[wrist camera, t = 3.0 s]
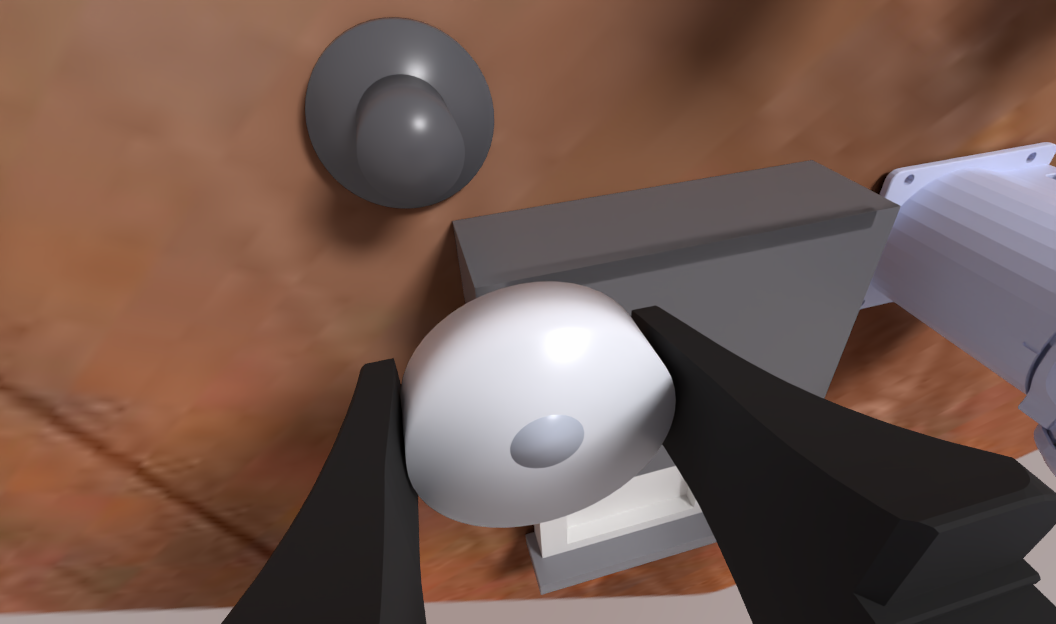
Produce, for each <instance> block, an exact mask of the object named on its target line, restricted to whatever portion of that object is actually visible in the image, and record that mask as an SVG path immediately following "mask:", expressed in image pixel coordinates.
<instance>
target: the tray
mask: <svg viewBox="0 0 1056 624" xmlns="http://www.w3.org/2000/svg"><path fill="white" fill-rule="evenodd" d="M534 530H535V532H533V533H529V534H526V543H527V547H528V550H529V554H530V557H531V561H532V565H533V568H534V572H535V575H536V579H537V582H538V586H539V589H540V593H541V595H542V594H546V593H549V592H552V591H556V590H559V589H562V588H566V587H569V586H572V585H575V584H579V583H582V582H585V581H589V580H592V579H595V578H599V577H602V576H605V575H609V574H612V573H615V572H619V571H622V570H625V569H629V568H632V567H635V566H639V565H642V564H645V563H649V562H652V561H655V560H659V559H662V558H665V557H668V556H672V555H675V554H678V553H682V552H685V551H688V550H692V549H695V548H698V547H702V546H705V545H708V544H712V543H715V542H717V541H716V539H715V537H714V535H713V533H712V531H711V529H710V527H709V525H708V523H707V521H706V519H705V516H704V514H703V512H702V510H701V508H700V506H699V504H698V503H697V501H696V499H695V497H694V495H693V494H692V492H691V490H690V488H689V487H688V485H687V483H686V482H685V480H684V479H683V477H682V475H681V474H680V472H679V470H678V469H677V467H676V466H673V467H669V468H666V469H662V470H658V471H654V472H651V473H647V474H643V475H640V476H636V477H633V478H632V479H631V480H630V481H628V482H627V483H626V484H625V485H623V486H622V487H621V488H619V489H618V490H616V491H615V492H613V493H612V494H610V495H609V496H607V497H606V498H604V499H602V500H600V501H599V502H597V503H595V504H593V505H591V506H589V507H587V508H584V509H582V510H580V511H578V512H575V513H573V514H570V515H567V516H565V517H561V518H558V519H555V520H552V521H547V522H543V523H539V524H534Z"/></svg>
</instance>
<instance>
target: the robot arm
mask: <svg viewBox="0 0 1056 624" xmlns="http://www.w3.org/2000/svg"><path fill="white" fill-rule="evenodd" d="M1055 152H1056V145H1055V144H1052V143H1049V142H1044V143H1038V144H1032V145H1027V146H1021V147H1016V148H1010V149H1004V150H999V151H993V152H987V153H982V154H976V155H971V156H965V157H959V158H954V159H948V160H943V161H937V162H931V163H926V164H920V165H914V166H909V167H903V168H898V169H895V170H893V171H892V172H890V173H889V174H888V175H887V177H886V179H885V181H884V184H883V186H882V189H881V192H880V195H881V196H882V197H884V198H886V199H888V200H890V201H892V202H894V203H896V204H898V205H900V206H901V207H900V210H899V212H898V215H897V217H896V220H895V222H894V225H893V227H892V230H891V232H890V235H889V237H888V240H887V242H886V245H885V247H884V250H883V252H882V255H881V257H880V260H879V262H878V265H877V267H876V270H875V272H874V275H873V277H872V280H871V282H870V285H869V287H868V290H867V292H866V295H865V297H864V300H863V302H862V305H861V307H860V309H863V308H868V307H872V306H877V305H881V304H885V303H890V302H895V303H896V304H897V305H899V306H900V307H902V308H903V309H905V310H906V311H907V312H909V313H910V314H912V315H913V316H915V317H916V318H917V319H919V320H920V321H922V322H923V323H925V324H926V325H927V326H929V327H930V328H932V329H933V330H935V331H936V332H937V333H939V334H940V335H942V336H943V337H945V338H946V339H947V340H949V341H950V342H952V343H953V344H955V345H956V346H957V347H959V348H960V349H962V350H963V351H965V352H966V353H967V354H969V355H970V356H972V357H973V358H975V359H976V360H977V361H979V362H980V363H982V364H983V365H985V366H986V367H987V368H989V369H990V370H992V371H993V372H995V373H996V374H997V375H999V376H1000V377H1002V378H1003V379H1005V380H1006V381H1007V382H1009V383H1010V384H1012V385H1013V386H1014V387H1016V388H1017V389H1019V390H1020V391H1022V392H1023V393H1024V394H1026V395H1027V396H1026V397H1025V398H1024V400H1023V401H1022V402H1021V403H1020V405H1019V406H1018V409H1020V410H1021V411H1022V412H1024V413H1025V414H1026V415H1028V416H1029V417H1031V418H1032V419H1033V420H1035V421H1036V422H1037V423H1039V424H1038V425H1037V427H1036V429H1035V431H1034V440H1035V443H1036V445H1037V448H1038V449H1039V451H1040V453H1041V454H1042V456H1043V459H1044V461H1045V463H1046V464H1047V466H1048V467H1049V469H1050V470H1051V471H1052V473H1053V474H1054V475H1055V476H1056V167H1054V166H1051V165H1049V164H1050V162H1051V160H1052V158H1053V156H1054V154H1055ZM631 318H632V319H633V321H634V322H635V324H636V325H637V326H638V328H639V329H640V331H641V332H642V334H643V335H644V336H645V338H646V339H647V341H648V342H649V344H650V345H651V346H652V348H653V349H654V351H655V352H656V354H657V355H658V356H659V358H660V359H661V361H662V362H663V364H664V365H665V366H666V368H667V370H668V372H669V374H670V376H671V378H672V381H673V384H674V388H675V396H676V404H675V413H674V417H673V421H672V424H671V427H670V429H669V432H668V434H667V436H666V438H665V440H664V442H663V443H662V445H663V446H664V448H665V449H666V451H667V453H668V454H669V456H670V458H671V459H672V461H673V462H674V464H675V466H676V467H677V469H678V470H679V472H680V474H681V475H682V477H683V479H684V480H685V482H686V483H687V485H688V487H689V488H690V490H691V492H692V494H693V495H694V497H695V499H696V501H697V503H698V504H699V506H700V508H701V510H702V512H703V514H704V516H705V519H706V521H707V523H708V525H709V527H710V529H711V531H712V533H713V535H714V537H715V539H716V541H717V543H718V546H719V548H720V550H721V552H722V554H723V556H724V559H725V561H726V563H727V565H728V567H729V570H730V572H731V574H732V576H733V578H734V581H735V583H736V585H737V587H738V590H739V592H740V594H741V597H742V599H743V601H744V604H745V606H746V609H747V611H748V613H749V616H750V618H751V620H752V623H753V624H1056V607H1055V605H1054V604H1053V603H1051V602H1050V601H1049V600H1048V599H1047V598H1046V597H1045V596H1044V595H1043V594H1042V593H1041V592H1040V591H1039V590H1038V589H1037V588H1036V587H1035V586H1034V585H1033V584H1036V583H1037V582H1038V581H1039V580H1040V576H1039V574H1038V572H1037V571H1035V570H1034V569H1033V568H1032V567H1031V566H1030V565H1029V564H1028V563H1027V562H1026V561H1025V560H1024V559H1023V558H1024V557H1025V556H1026V555H1027V554H1028V553H1029V552H1030V551H1031V549H1033V548H1034V546H1035V545H1036V544H1037V543H1038V542H1039V541H1040V540H1041V539H1042V538H1043V537H1044V536H1045V535H1046V534H1047V533H1048V532H1049V531H1050V530H1051V529H1052V528H1053V526H1054V525H1055V524H1056V493H1055V492H1054V491H1053V490H1052V489H1050V488H1049V487H1048V486H1047V485H1046V484H1044V483H1043V482H1042V481H1041V480H1039V479H1038V478H1037V477H1036V476H1035V475H1033V474H1032V473H1031V472H1029V471H1028V470H1027V469H1026V468H1025V467H1023V466H1022V465H1021V464H1020V463H1018V461H1016V460H1015V459H1014V458H1012V457H1008V456H1004V455H1000V454H996V453H992V452H988V451H984V450H980V449H976V448H972V447H968V446H964V445H960V444H956V443H952V442H948V441H944V440H941V439H937V438H934V437H931V436H928V435H924V434H921V433H918V432H914V431H911V430H908V429H905V428H901V427H898V426H895V425H892V424H889V423H886V422H884V421H881V420H878V419H875V418H872V417H869V416H867V415H864V414H861V413H859V412H856V411H853V410H851V409H848V408H846V407H843V406H840V405H838V404H835V403H833V402H831V401H828V400H826V399H823V398H821V397H819V396H817V395H814V394H812V393H810V392H808V391H806V390H803V389H801V388H799V387H797V386H795V385H792V384H790V383H788V382H786V381H784V380H782V379H780V378H778V377H776V376H774V375H772V374H770V373H769V372H767V371H765V370H763V369H761V368H759V367H757V366H756V365H754V364H752V363H750V362H748V361H746V360H745V359H743V358H741V357H739V356H738V355H736V354H734V353H733V352H731V351H729V350H727V349H726V348H724V347H722V346H721V345H719V344H717V343H716V342H714V341H713V340H711V339H709V338H708V337H706V336H705V335H703V334H701V333H700V332H698V331H697V330H695V329H693V328H692V327H690V326H689V325H687V324H686V323H684V322H682V321H681V320H679V319H678V318H676V317H674V316H673V315H671V314H670V313H668V312H666V311H665V310H663V309H661V308H660V307H658V306H656V305H655V306H650V307H645V308H640V309H635V310H632V312H631ZM400 393H401V384H400V380H399V376H398V372H397V369H396V365H395V361H394V358H392V359H387V360H382V361H378V362H373V363H368V364H365V365H364V366H363V367H362V368H361V370H360V374H359V378H358V382H357V385H356V388H355V391H354V394H353V397H352V400H351V403H350V406H349V408H348V411H347V414H346V416H345V419H344V421H343V424H342V426H341V428H340V431H339V433H338V436H337V438H336V441H335V443H334V445H333V447H332V450H331V452H330V454H329V456H328V458H327V460H326V462H325V464H324V466H323V468H322V470H321V472H320V474H319V476H318V478H317V480H316V482H315V484H314V486H313V488H312V490H311V492H310V493H309V495H308V497H307V499H306V501H305V502H304V504H303V506H302V508H301V509H300V511H299V513H298V514H297V516H296V518H295V519H294V521H293V523H292V524H291V526H290V528H289V529H288V531H287V532H286V534H285V535H284V537H283V539H282V540H281V542H280V543H279V545H278V546H277V548H276V549H275V551H274V552H273V554H272V555H271V557H270V558H269V560H268V561H267V563H266V564H265V566H264V567H263V569H262V570H261V571H260V573H259V574H258V576H257V577H256V579H255V580H254V581H253V583H252V584H251V585H250V587H249V588H248V589H247V591H246V592H245V593H244V595H243V596H242V597H241V598H240V600H239V601H238V602H237V604H236V605H235V606H234V608H233V609H232V610H231V611H230V613H229V614H228V615H227V617H226V618H225V619H224V621H223V622H222V623H221V624H426V617H425V609H424V601H423V593H422V585H421V572H420V553H419V518H418V494H417V492H416V491H415V489H414V488H413V486H412V484H411V481H410V479H409V476H408V471H407V466H406V457H405V446H404V435H403V425H402V409H401V398H400Z"/></svg>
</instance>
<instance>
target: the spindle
mask: <svg viewBox="0 0 1056 624" xmlns="http://www.w3.org/2000/svg"><path fill="white" fill-rule="evenodd" d="M305 114H306V124H307V128H308V133H309V137H310V139H311V142H312V145H313V147H314V150H315V151H316V153H317V155H318V157H319V159H320V161H321V162H322V163H323V165H324V166H325V168H326V169H327V170H328V172H329V173H330V174H331V175H332V176H333V177H334V178H335V179H336V180H337V181H338V182H339V183H340V184H341V185H343V186H344V187H345V188H346V189H348V190H349V191H351V192H352V193H354V194H355V195H357V196H359V197H361V198H363V199H365V200H367V201H370V202H372V203H375V204H379V205H382V206H386V207H393V208H418V207H424V206H428V205H432V204H435V203H438V202H441V201H443V200H445V199H447V198H449V197H451V196H452V195H454V194H455V193H457V192H458V191H460V190H461V189H462V188H463V187H464V186H466V185H467V184H468V183H469V182H470V181H471V180H472V178H473V177H474V176H475V175H476V174H477V172H478V171H479V169H480V168H481V166H482V164H483V162H484V161H485V159H486V157H487V154H488V151H489V149H490V146H491V141H492V137H493V130H494V109H493V103H492V98H491V94H490V91H489V87H488V85H487V83H486V80H485V78H484V76H483V74H482V72H481V70H480V69H479V67H478V65H477V64H476V63H475V61H474V60H473V59H472V57H471V56H470V55H469V54H468V52H467V51H466V50H465V49H464V48H463V47H462V46H461V45H460V44H459V43H458V42H457V41H455V40H454V39H453V38H451V37H450V36H449V35H447V34H446V33H444V32H443V31H441V30H439V29H437V28H436V27H433V26H431V25H429V24H426V23H424V22H420V21H417V20H413V19H407V18H399V17H389V18H379V19H373V20H369V21H366V22H363V23H360V24H357V25H355V26H354V27H352V28H350V29H348V30H346V31H345V32H343V33H342V34H341V35H339V36H338V37H336V38H335V39H334V40H333V41H332V42H331V43H330V44H329V45H328V46H327V47H326V49H325V50H324V52H323V53H322V54H321V56H320V57H319V59H318V61H317V63H316V65H315V67H314V68H313V71H312V74H311V77H310V80H309V83H308V88H307V93H306V102H305Z"/></svg>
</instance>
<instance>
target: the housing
mask: <svg viewBox="0 0 1056 624" xmlns="http://www.w3.org/2000/svg"><path fill="white" fill-rule="evenodd" d="M900 207H901V206H900V205H898V204H896V203H894V202H892V201H890V200H888V199H886V198H884V197H882V196H881V195H879V194H877V193H875V192H873V191H871V190H869V189H867V188H865V187H863V186H861V185H859V184H857V183H855V182H853V181H851V180H850V179H848V178H846V177H844V176H842V175H840V174H838V173H836V172H834V171H832V170H830V169H828V168H826V167H824V166H822V165H821V164H819V163H817V162H815V161H813V160H810V161H805V162H799V163H793V164H787V165H781V166H775V167H769V168H763V169H757V170H751V171H745V172H740V173H734V174H728V175H722V176H716V177H710V178H704V179H698V180H692V181H686V182H680V183H675V184H669V185H663V186H657V187H651V188H645V189H639V190H633V191H627V192H621V193H615V194H610V195H604V196H598V197H592V198H586V199H580V200H574V201H568V202H562V203H556V204H550V205H545V206H539V207H533V208H527V209H521V210H515V211H509V212H503V213H497V214H491V215H485V216H480V217H474V218H468V219H462V220H456V221H453V228H454V234H455V241H456V247H457V254H458V260H459V266H460V273H461V279H462V286H463V292H464V299H465V304H466V303H468V302H470V301H472V300H474V299H476V298H478V297H480V296H482V295H485V294H487V293H490V292H493V291H496V290H499V289H501V288H505V287H509V286H513V285H518V284H523V283H531V282H544V281H557V282H566V283H574V284H578V285H582V286H586V287H589V288H592V289H594V290H597V291H599V292H602V293H603V294H605V295H607V296H608V297H610V298H612V299H613V300H615V301H616V302H617V303H618V304H619V305H621V306H622V307H623V308H624V309H625V311H626V312H627V313H628V314H629V315H630V317H631V312H632V310H635V309H640V308H645V307H650V306H655V305H656V306H658V307H660V308H661V309H663V310H665V311H666V312H668V313H670V314H671V315H673V316H674V317H676V318H678V319H679V320H681V321H682V322H684V323H686V324H687V325H689V326H690V327H692V328H693V329H695V330H697V331H698V332H700V333H701V334H703V335H705V336H706V337H708V338H709V339H711V340H713V341H714V342H716V343H717V344H719V345H721V346H722V347H724V348H726V349H727V350H729V351H731V352H733V353H734V354H736V355H738V356H739V357H741V358H743V359H745V360H746V361H748V362H750V363H752V364H754V365H756V366H757V367H759V368H761V369H763V370H765V371H767V372H769V373H770V374H772V375H774V376H776V377H778V378H780V379H782V380H784V381H786V382H788V383H790V384H792V385H795V386H797V387H799V388H801V389H803V390H806V391H808V392H810V393H812V394H814V395H817V396H819V397H821V398H823V399H824V398H825V395H826V393H827V390H828V388H829V385H830V383H831V380H832V378H833V375H834V373H835V370H836V368H837V365H838V363H839V360H840V358H841V355H842V353H843V350H844V348H845V345H846V343H847V340H848V338H849V335H850V333H851V330H852V328H853V325H854V323H855V320H856V318H857V315H858V312H859V310H860V307H861V305H862V302H863V300H864V297H865V295H866V292H867V290H868V287H869V285H870V282H871V280H872V277H873V275H874V272H875V270H876V267H877V265H878V262H879V260H880V257H881V255H882V252H883V250H884V247H885V245H886V242H887V240H888V237H889V235H890V232H891V230H892V227H893V225H894V222H895V220H896V217H897V215H898V212H899V210H900ZM673 466H675V464H674V462H673V461H672V459H671V458H670V456H669V454H668V453H667V451H666V449H665V448H664V446H663V445H661V447H660V448H659V450H658V451H657V452H656V454H655V455H654V456H653V458H652V459H651V460H650V461H649V462H648V463H647V465H646V466H645V467H644V468H643V469H642V470H641V471H640V472H639V473H638V474H637V475H636V476H640V475H643V474H647V473H651V472H654V471H658V470H662V469H666V468H669V467H673ZM636 476H634V477H636Z"/></svg>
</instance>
